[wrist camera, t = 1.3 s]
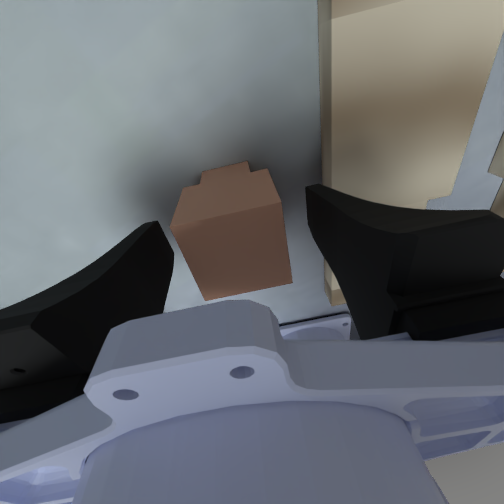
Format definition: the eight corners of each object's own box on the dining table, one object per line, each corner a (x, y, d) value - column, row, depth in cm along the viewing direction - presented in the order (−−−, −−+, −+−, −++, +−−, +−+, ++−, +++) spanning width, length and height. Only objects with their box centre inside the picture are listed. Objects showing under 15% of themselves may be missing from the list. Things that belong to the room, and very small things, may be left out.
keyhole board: (538, 247, 18) (561, 261, 17) (324, 291, 19) (332, 307, 18) (845, -224, 7) (975, -285, 6) (315, -76, 8) (333, -103, 7)
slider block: (273, 223, 15) (292, 282, 11) (210, 237, 15) (205, 301, 11) (262, 157, 13) (281, 201, 8) (187, 175, 13) (169, 226, 9)
